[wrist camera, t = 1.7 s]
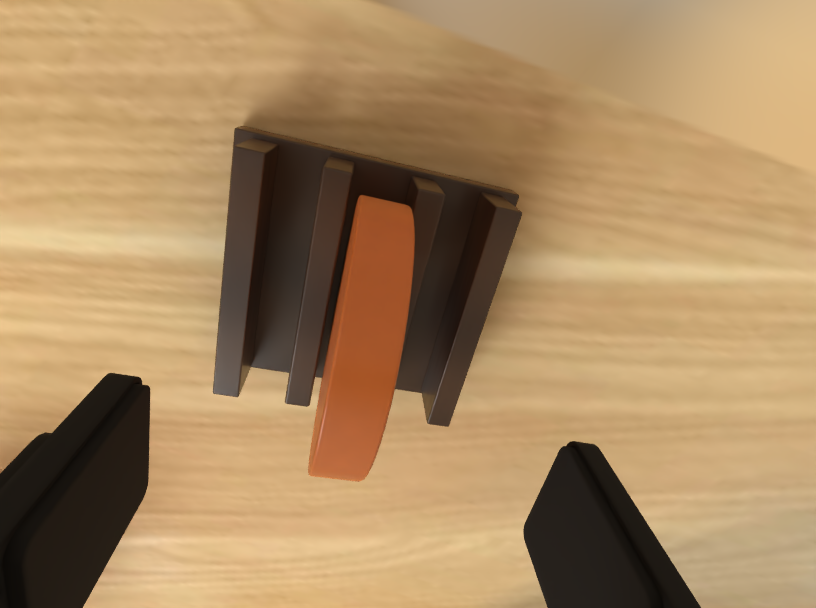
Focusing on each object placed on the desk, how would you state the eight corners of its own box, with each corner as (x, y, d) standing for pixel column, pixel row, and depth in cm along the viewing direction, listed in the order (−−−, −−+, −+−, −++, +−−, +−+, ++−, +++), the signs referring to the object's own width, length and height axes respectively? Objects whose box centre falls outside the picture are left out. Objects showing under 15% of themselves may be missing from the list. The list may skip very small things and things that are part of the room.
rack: (241, 125, 17) (213, 134, 14) (512, 190, 19) (541, 210, 16) (221, 350, 21) (196, 396, 18) (448, 386, 23) (460, 433, 20)
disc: (361, 171, 18) (356, 245, 9) (402, 181, 18) (432, 261, 10) (322, 369, 21) (295, 546, 13) (357, 374, 21) (351, 550, 13)
